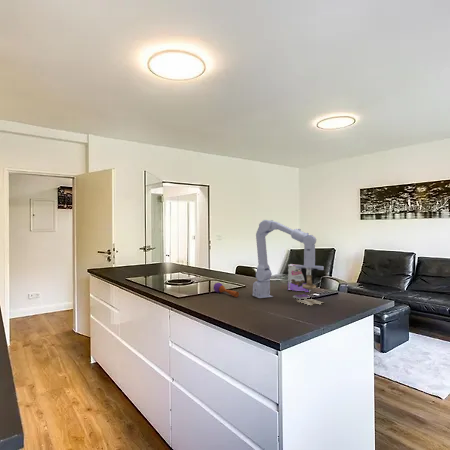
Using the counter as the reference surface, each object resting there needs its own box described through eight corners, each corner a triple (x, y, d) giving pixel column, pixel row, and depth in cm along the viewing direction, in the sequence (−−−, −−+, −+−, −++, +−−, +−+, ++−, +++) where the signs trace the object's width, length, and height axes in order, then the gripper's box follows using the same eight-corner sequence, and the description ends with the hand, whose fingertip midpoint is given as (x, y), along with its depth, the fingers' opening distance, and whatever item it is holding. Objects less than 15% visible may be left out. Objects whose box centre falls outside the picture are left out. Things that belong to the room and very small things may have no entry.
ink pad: (299, 299, 177) (299, 297, 177) (292, 297, 183) (292, 295, 183) (311, 298, 181) (311, 296, 181) (304, 296, 186) (304, 294, 186)
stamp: (308, 289, 169) (308, 276, 169) (302, 288, 173) (302, 275, 174) (316, 289, 171) (316, 275, 171) (309, 287, 176) (310, 274, 176)
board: (308, 305, 164) (308, 304, 164) (296, 301, 173) (296, 300, 173) (323, 303, 168) (323, 302, 168) (311, 299, 177) (311, 298, 177)
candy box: (287, 290, 204) (287, 264, 204) (289, 289, 209) (290, 263, 209) (309, 293, 197) (309, 266, 197) (311, 291, 202) (311, 265, 203)
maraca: (232, 291, 180) (211, 283, 195) (233, 301, 181) (212, 292, 196) (240, 288, 183) (218, 280, 199) (241, 297, 184) (219, 289, 200)
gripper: (294, 257, 171) (294, 283, 171) (323, 258, 166) (323, 285, 166) (296, 256, 178) (296, 281, 178) (323, 257, 173) (323, 282, 173)
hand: (309, 282), depth 172 cm, fingers closed on stamp, 3 cm apart
